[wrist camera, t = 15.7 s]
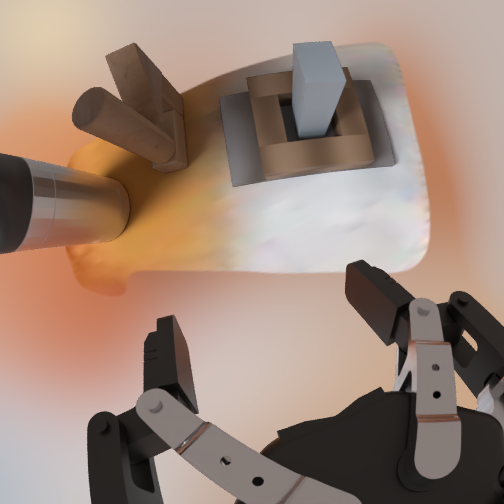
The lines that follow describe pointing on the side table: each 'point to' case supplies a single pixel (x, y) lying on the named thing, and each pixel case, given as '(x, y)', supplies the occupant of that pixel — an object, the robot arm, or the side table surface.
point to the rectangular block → (315, 88)
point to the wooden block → (137, 111)
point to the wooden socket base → (285, 136)
